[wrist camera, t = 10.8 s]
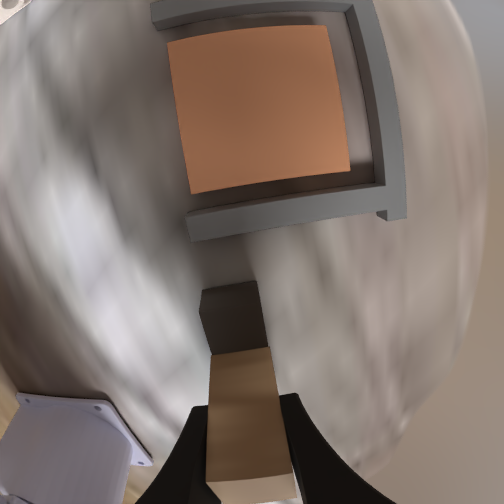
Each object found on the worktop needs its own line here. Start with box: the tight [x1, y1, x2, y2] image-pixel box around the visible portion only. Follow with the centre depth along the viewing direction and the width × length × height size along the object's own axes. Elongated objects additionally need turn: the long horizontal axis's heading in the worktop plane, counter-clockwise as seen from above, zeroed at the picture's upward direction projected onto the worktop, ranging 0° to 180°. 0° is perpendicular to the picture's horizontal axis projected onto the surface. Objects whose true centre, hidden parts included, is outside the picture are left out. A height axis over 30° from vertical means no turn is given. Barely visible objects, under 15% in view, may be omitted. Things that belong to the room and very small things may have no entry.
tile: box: [167, 25, 350, 194], centre depth 10 cm, size 6×6×2 cm
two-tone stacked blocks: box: [199, 281, 297, 504], centre depth 11 cm, size 2×7×8 cm, turn 9°
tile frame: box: [150, 0, 407, 243], centre depth 10 cm, size 9×11×1 cm
